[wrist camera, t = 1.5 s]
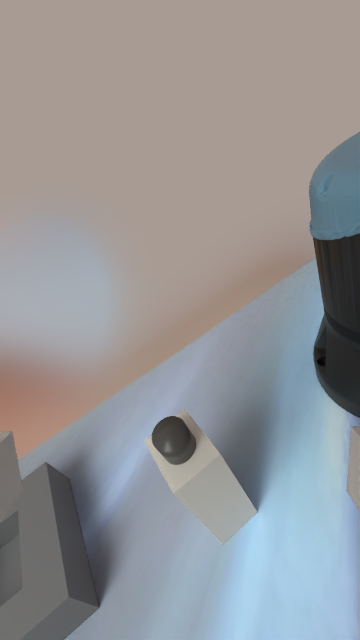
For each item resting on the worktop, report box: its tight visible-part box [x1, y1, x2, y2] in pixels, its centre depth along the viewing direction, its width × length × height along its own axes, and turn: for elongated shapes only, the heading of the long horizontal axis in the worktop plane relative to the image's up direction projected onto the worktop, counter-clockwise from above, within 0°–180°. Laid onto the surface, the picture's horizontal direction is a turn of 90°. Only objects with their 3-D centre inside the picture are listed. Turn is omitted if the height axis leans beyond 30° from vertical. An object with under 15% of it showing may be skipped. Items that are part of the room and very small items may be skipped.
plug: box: [144, 409, 258, 544], centre depth 25 cm, size 4×5×13 cm
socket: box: [0, 462, 99, 640], centre depth 29 cm, size 14×14×5 cm
